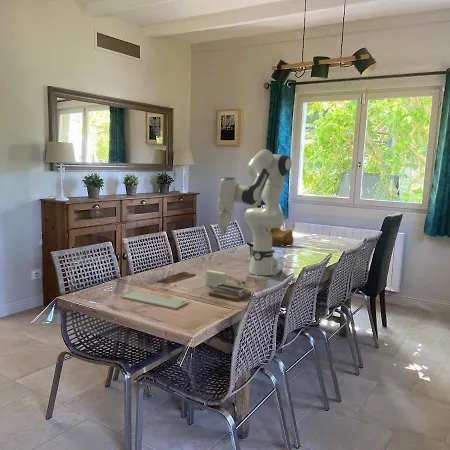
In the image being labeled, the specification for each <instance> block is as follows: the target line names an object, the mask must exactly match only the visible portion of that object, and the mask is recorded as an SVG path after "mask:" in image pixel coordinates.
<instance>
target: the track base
mask: <svg viewBox="0 0 450 450" xmlns="http://www.w3.org/2000/svg"><path fill="white" fill-rule="evenodd" d="M251 295H252V291H251V290H250V291H249V288H247V287H242V286H237V285H232V284H227V283H226V284H223V283H219V284H217V285H214V286H213V287H212V290H211V291H209V292H208V296H211V297H215V298H219V299H224V300H229V301H233V302H238V301H240V300H243V299H245V298H247V297H249V296H251Z"/></svg>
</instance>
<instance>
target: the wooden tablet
mask: <svg viewBox="0 0 450 450" xmlns="http://www.w3.org/2000/svg"><path fill="white" fill-rule="evenodd" d="M196 275H197V274H196V273H189V272H188V271H181V272H179V273H175V274H173V275H170V276H167V277H163V278H162V279H159V280H156V283H158V284H167V285H169V284H173V283H177V282H180V281H183V280H185V279H189V278H192V277H195V276H196Z"/></svg>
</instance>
